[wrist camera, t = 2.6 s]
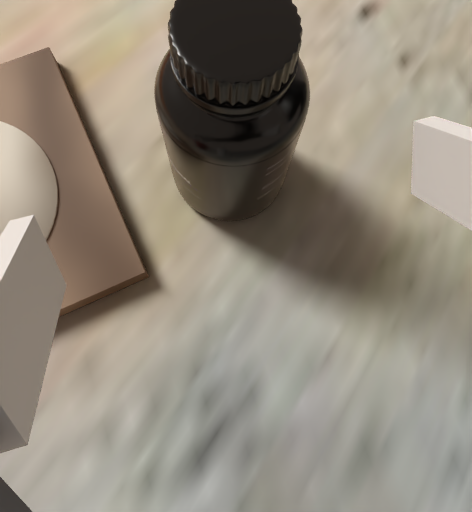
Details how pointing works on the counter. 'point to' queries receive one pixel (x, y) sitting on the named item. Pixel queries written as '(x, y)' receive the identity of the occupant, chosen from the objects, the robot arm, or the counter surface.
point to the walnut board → (61, 182)
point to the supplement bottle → (232, 102)
